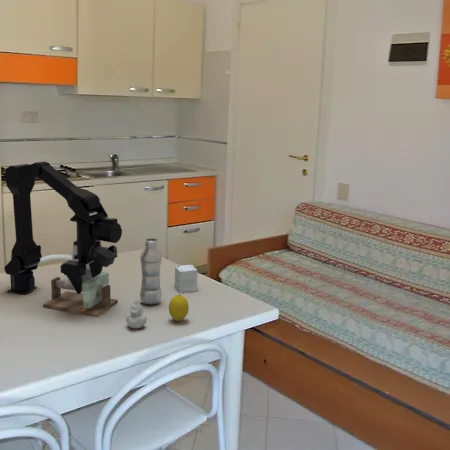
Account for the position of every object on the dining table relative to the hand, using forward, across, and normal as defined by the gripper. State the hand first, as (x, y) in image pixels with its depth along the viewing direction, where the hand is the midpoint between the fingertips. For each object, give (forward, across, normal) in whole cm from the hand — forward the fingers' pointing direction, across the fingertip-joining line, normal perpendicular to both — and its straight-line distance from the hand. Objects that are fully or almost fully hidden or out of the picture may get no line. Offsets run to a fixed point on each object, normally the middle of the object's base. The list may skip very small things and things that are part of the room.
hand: (87, 288), depth 166 cm
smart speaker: (+6, +19, +12) cm, 23 cm away
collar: (+4, 0, -3) cm, 5 cm away
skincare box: (+6, +26, -21) cm, 34 cm away
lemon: (+6, +1, -29) cm, 29 cm away
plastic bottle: (+6, +10, -16) cm, 19 cm away
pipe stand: (+6, 0, +2) cm, 6 cm away
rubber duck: (+6, -7, -20) cm, 22 cm away
